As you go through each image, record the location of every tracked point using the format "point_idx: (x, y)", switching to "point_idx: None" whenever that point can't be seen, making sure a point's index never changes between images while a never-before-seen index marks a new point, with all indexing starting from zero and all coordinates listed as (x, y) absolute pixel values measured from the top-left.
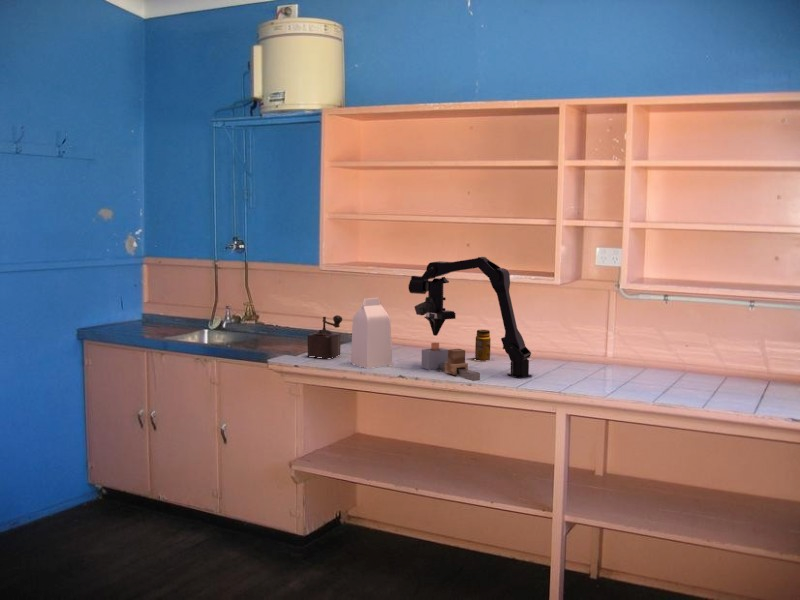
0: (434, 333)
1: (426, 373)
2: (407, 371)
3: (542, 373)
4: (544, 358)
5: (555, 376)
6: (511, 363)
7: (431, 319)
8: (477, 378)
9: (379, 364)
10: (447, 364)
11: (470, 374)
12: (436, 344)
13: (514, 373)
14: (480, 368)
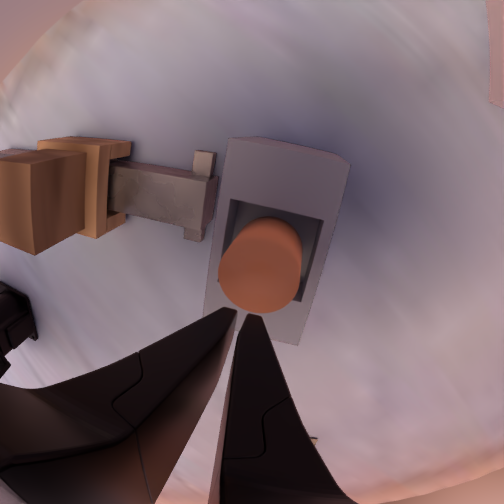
0: (219, 316)
1: (194, 63)
2: (307, 20)
3: (35, 369)
4: (182, 495)
5: (9, 353)
6: (5, 324)
7: (6, 429)
8: None
9: (495, 22)
10: (86, 143)
11: (5, 152)
12: (223, 256)
13: (4, 294)
14: (144, 343)
